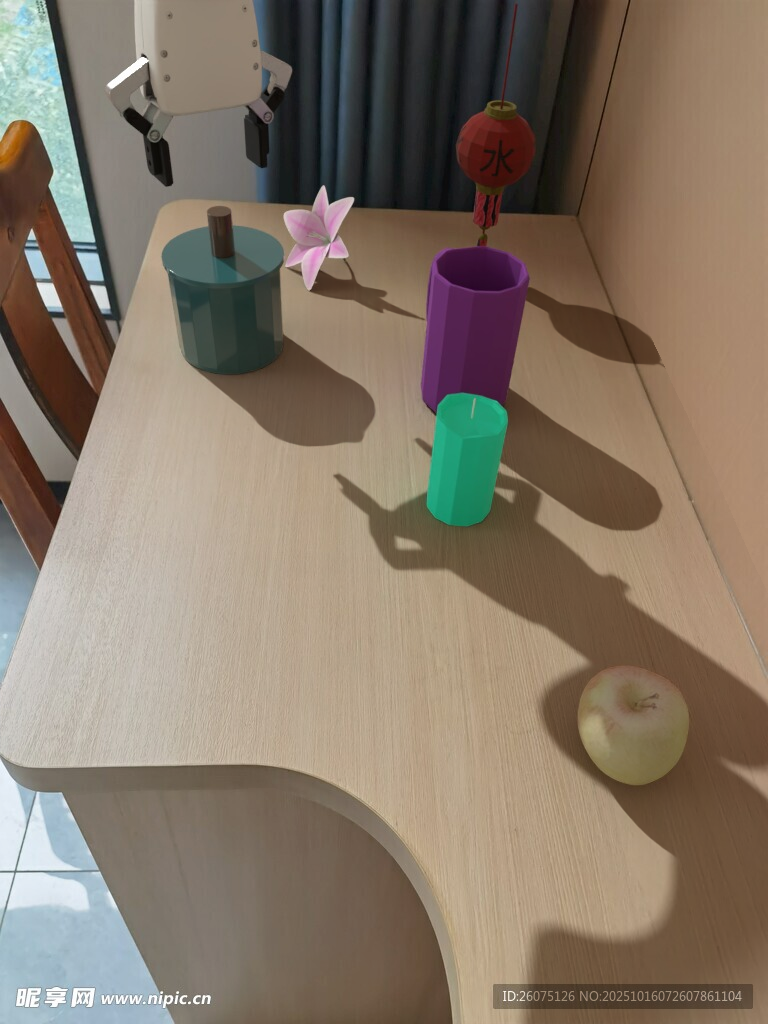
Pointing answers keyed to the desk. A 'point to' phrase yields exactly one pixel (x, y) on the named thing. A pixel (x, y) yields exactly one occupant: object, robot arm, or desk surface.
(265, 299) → the teal round pot
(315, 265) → the lily
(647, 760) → the fruit
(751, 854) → the desk surface
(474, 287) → the mug
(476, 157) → the lantern
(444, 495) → the candle
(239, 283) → the lid
